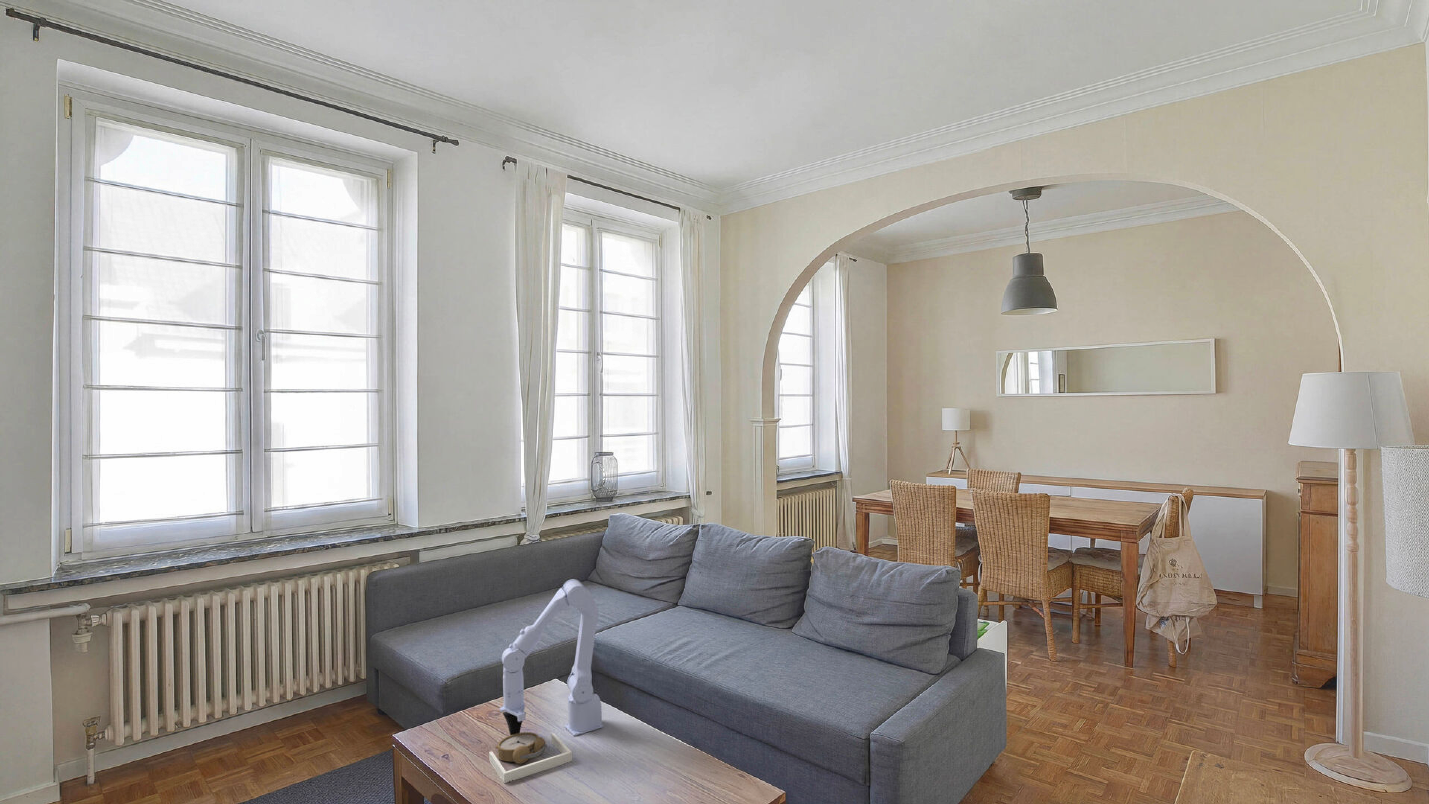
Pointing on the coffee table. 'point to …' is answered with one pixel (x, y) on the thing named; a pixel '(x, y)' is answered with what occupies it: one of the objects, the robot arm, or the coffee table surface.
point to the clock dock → (535, 766)
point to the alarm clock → (520, 747)
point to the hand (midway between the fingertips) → (514, 736)
